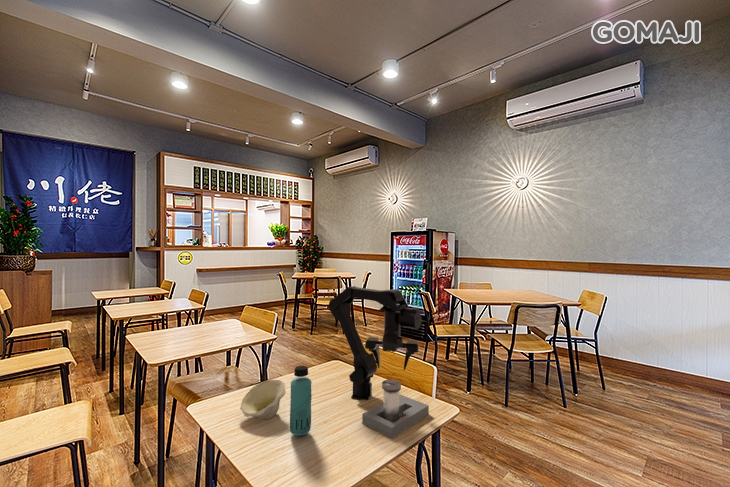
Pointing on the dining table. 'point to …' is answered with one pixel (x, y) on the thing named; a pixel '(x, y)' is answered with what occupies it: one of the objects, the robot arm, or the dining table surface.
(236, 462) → the dining table surface
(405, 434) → the dining table surface
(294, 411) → the beverage bottle
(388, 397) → the salt shaker
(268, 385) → the bowl
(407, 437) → the dining table surface
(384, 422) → the keyhole plate
